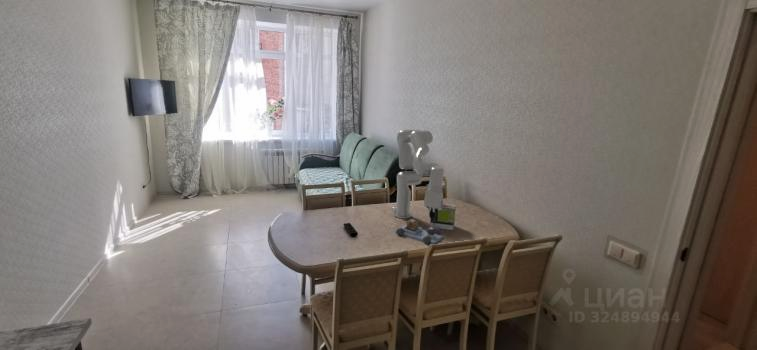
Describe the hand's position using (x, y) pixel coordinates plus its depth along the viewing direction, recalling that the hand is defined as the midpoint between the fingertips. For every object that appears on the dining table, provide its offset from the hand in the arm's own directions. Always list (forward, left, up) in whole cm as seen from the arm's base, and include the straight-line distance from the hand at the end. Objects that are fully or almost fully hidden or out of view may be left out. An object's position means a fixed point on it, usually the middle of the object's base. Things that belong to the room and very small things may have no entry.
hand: (431, 217), depth 209 cm
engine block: (-12, 0, -12) cm, 17 cm away
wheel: (+1, 0, -11) cm, 11 cm away
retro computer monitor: (-2, +23, -14) cm, 26 cm away
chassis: (-7, 0, -13) cm, 15 cm away
